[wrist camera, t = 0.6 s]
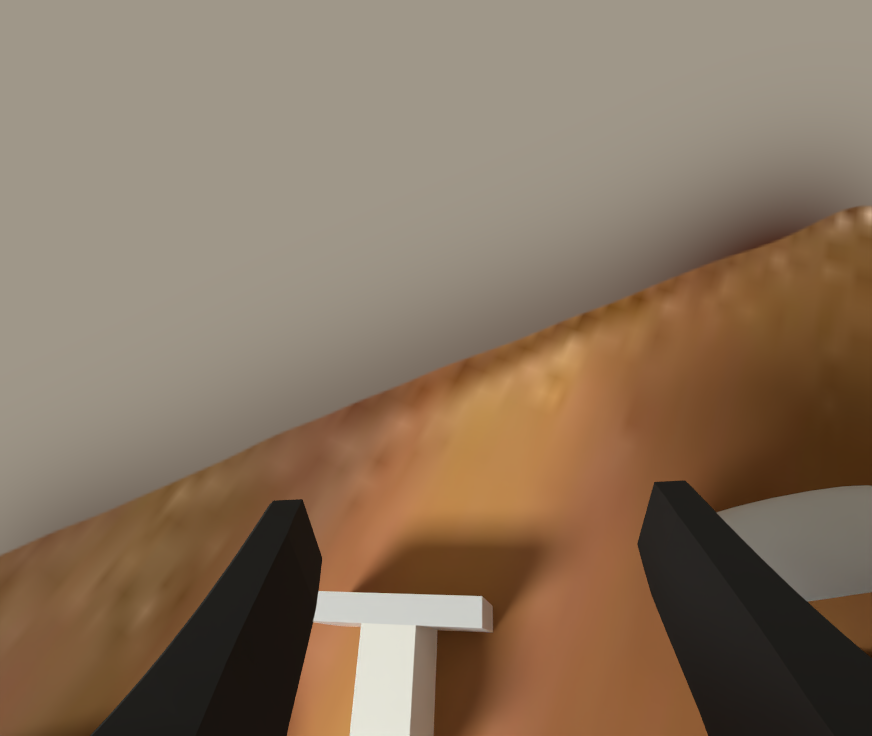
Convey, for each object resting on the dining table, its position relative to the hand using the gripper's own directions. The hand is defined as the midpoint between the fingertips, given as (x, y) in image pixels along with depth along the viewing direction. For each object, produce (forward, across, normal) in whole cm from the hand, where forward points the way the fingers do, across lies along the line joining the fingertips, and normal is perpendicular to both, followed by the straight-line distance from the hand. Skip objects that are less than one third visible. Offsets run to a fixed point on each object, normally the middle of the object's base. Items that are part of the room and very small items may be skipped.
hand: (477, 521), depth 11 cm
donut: (+7, -13, +14) cm, 21 cm away
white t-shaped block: (+4, +3, +18) cm, 19 cm away
